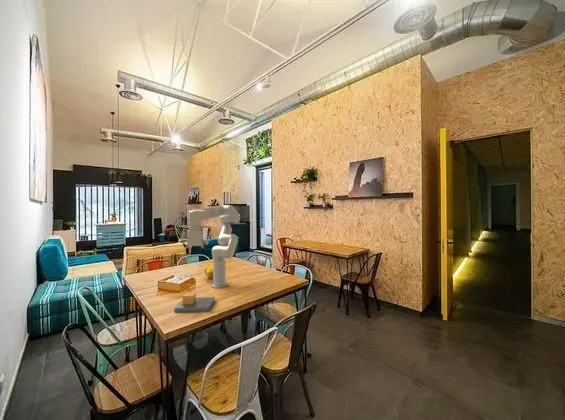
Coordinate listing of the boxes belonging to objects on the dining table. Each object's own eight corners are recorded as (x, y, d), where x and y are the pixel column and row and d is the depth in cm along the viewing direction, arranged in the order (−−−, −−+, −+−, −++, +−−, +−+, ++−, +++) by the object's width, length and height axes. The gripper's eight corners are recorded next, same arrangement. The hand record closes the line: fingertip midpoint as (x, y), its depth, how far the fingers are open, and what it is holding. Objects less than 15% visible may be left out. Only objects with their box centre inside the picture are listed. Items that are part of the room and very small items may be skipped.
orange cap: (186, 300, 152) (186, 292, 152) (195, 300, 152) (195, 292, 152) (182, 304, 146) (182, 296, 146) (192, 304, 146) (192, 296, 146)
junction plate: (184, 301, 157) (184, 291, 156) (215, 301, 158) (215, 291, 157) (174, 312, 141) (174, 301, 140) (208, 311, 142) (208, 300, 141)
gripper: (209, 228, 164) (209, 253, 165) (183, 228, 164) (184, 253, 164) (206, 229, 157) (206, 255, 157) (179, 229, 156) (179, 255, 156)
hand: (195, 254), depth 160 cm, fingers open, 9 cm apart
